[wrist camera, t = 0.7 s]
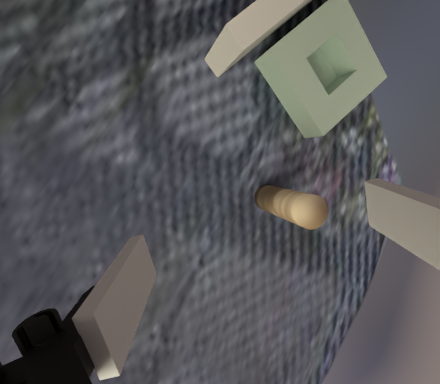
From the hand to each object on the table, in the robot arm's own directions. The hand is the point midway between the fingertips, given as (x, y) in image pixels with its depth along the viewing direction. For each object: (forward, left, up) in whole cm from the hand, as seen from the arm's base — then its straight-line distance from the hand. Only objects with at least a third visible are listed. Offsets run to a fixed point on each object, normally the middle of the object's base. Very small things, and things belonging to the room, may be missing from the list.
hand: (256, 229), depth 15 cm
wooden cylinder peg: (+9, +8, -24) cm, 27 cm away
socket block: (-1, +26, -24) cm, 36 cm away
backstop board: (-11, +26, -24) cm, 37 cm away
